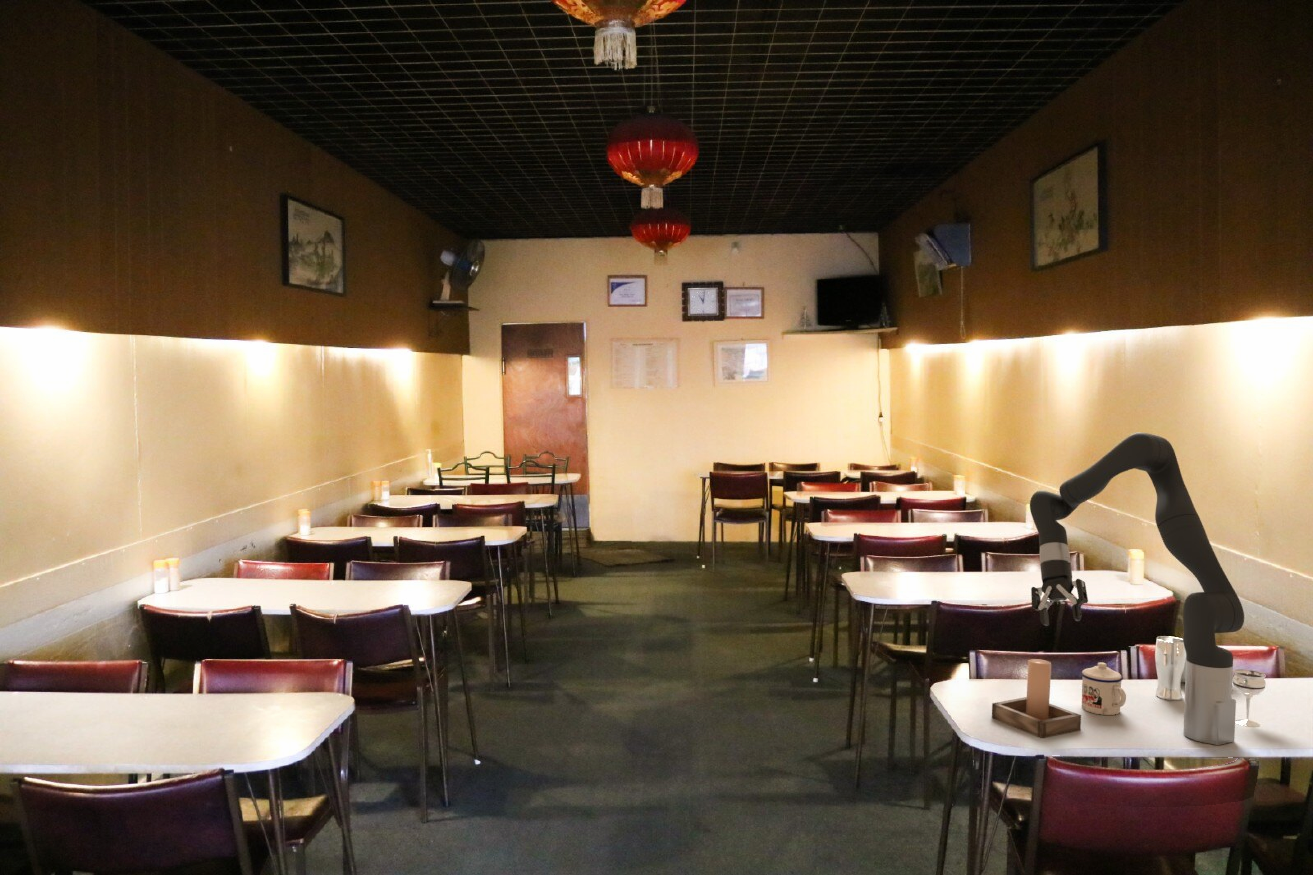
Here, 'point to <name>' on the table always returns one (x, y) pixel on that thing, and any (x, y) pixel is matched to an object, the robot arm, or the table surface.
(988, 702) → the table surface
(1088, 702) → the teacup with lid
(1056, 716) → the tray
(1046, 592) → the robot arm
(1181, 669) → the beer glass
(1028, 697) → the canister
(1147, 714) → the table surface
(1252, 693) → the wineglass
